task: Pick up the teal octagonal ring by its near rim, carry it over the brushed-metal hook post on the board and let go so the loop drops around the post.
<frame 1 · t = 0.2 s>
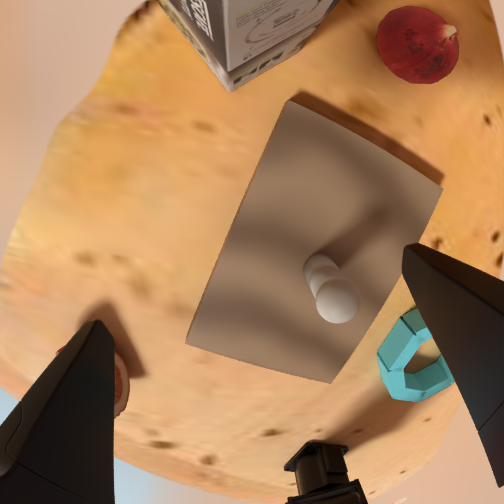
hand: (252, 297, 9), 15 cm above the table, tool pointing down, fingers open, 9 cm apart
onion: (392, 54, 20), on the table
fruit slice: (101, 359, 28), on the table
hook board: (313, 260, 25), on the table
coffee box: (229, 25, 19), on the table
teal octagonal ring: (423, 345, 29), on the table
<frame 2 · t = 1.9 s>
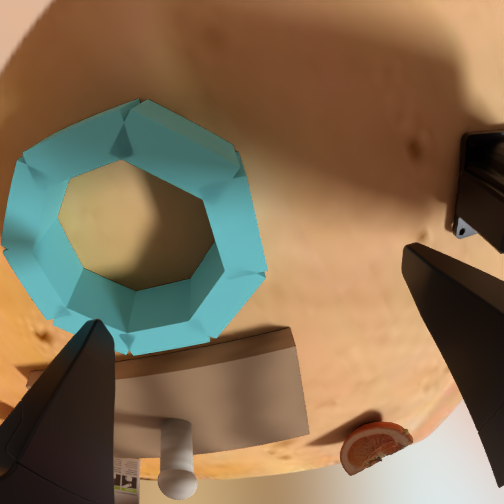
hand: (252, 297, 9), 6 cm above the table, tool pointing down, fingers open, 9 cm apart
fruit slice: (368, 424, 31), on the table
hook board: (176, 409, 23), on the table
coffee box: (114, 462, 31), on the table
teal octagonal ring: (135, 223, 14), on the table
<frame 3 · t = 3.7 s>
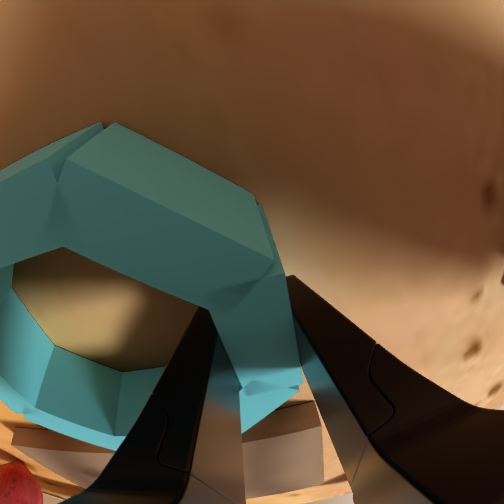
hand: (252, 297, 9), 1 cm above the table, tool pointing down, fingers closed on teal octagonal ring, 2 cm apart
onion: (20, 459, 20), on the table
hook board: (178, 467, 19), on the table
teal octagonal ring: (112, 301, 10), on the table, touching gripper
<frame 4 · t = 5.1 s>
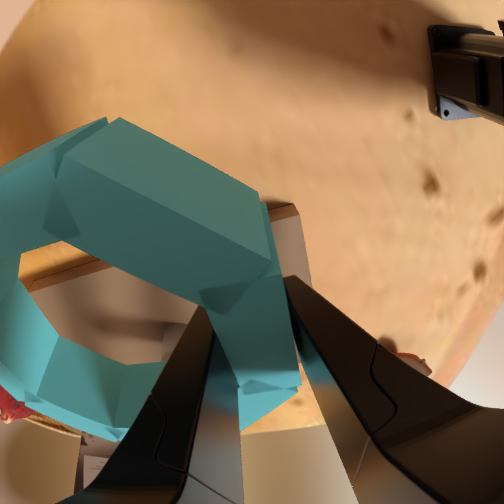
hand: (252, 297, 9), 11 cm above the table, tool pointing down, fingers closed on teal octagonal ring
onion: (28, 356, 25), on the table
fruit slice: (383, 360, 31), on the table
hook board: (180, 319, 24), on the table
coffee box: (116, 413, 32), on the table
teal octagonal ring: (116, 294, 10), point 10 cm above the table, touching gripper
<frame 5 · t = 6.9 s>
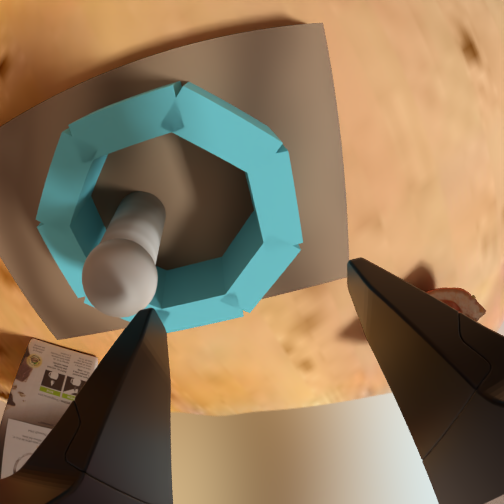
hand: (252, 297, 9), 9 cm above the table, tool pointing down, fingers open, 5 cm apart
fruit slice: (417, 305, 24), on the table
hook board: (146, 201, 16), on the table
coffee box: (67, 374, 24), on the table
teal octagonal ring: (170, 201, 15), point 1 cm above the table, touching hook board
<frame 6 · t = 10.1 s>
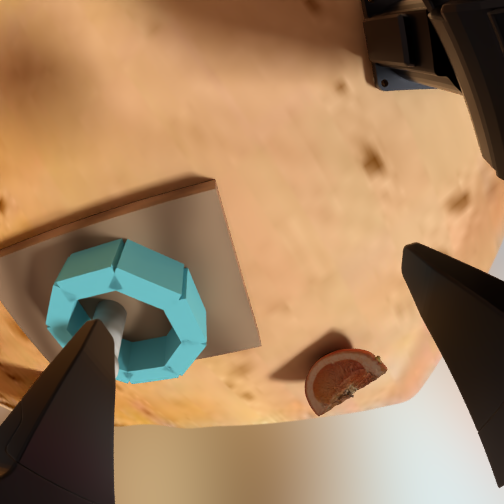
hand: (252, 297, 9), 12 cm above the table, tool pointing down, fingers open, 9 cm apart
fruit slice: (337, 356, 31), on the table
hook board: (115, 298, 23), on the table
teal octagonal ring: (128, 306, 22), point 1 cm above the table, touching hook board
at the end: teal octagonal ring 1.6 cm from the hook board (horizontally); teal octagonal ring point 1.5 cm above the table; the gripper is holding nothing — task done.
